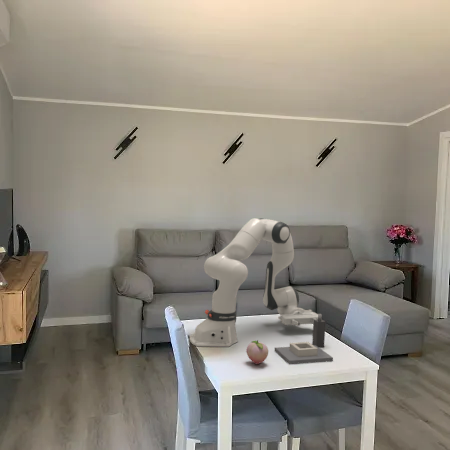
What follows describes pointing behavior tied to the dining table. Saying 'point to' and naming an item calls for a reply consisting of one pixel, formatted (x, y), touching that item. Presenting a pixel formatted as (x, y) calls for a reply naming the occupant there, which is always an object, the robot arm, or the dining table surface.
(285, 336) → the dining table surface
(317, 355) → the socket
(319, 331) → the plug
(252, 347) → the decorative fruit
